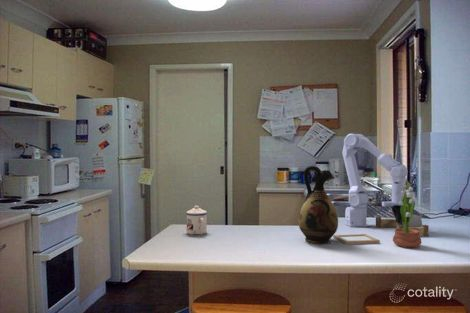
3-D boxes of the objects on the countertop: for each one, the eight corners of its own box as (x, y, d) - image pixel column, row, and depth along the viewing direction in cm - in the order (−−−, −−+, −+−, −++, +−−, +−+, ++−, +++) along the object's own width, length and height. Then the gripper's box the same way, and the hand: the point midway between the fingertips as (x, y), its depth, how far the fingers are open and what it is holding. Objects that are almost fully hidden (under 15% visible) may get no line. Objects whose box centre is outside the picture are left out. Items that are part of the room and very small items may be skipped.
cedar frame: (399, 236, 161) (399, 225, 160) (375, 226, 182) (375, 217, 182) (428, 236, 162) (428, 225, 162) (401, 226, 183) (401, 216, 183)
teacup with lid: (183, 231, 168) (183, 205, 168) (202, 229, 173) (202, 203, 172) (192, 237, 158) (193, 209, 158) (213, 235, 162) (213, 207, 162)
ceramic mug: (423, 231, 170) (423, 214, 170) (408, 233, 167) (408, 215, 167) (406, 227, 180) (406, 211, 180) (391, 228, 177) (391, 212, 177)
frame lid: (346, 244, 146) (346, 241, 146) (333, 238, 157) (333, 235, 157) (379, 243, 149) (379, 240, 149) (364, 236, 160) (364, 233, 160)
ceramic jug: (342, 239, 155) (343, 165, 154) (331, 247, 142) (332, 167, 141) (302, 234, 164) (303, 164, 163) (288, 242, 150) (289, 165, 150)
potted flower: (426, 251, 138) (427, 181, 137) (396, 249, 140) (397, 181, 139) (417, 243, 150) (418, 179, 149) (390, 241, 152) (391, 178, 151)
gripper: (387, 193, 167) (387, 224, 167) (419, 192, 168) (418, 223, 168) (379, 191, 174) (379, 221, 174) (410, 191, 175) (409, 220, 175)
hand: (398, 222), depth 172 cm, fingers closed
